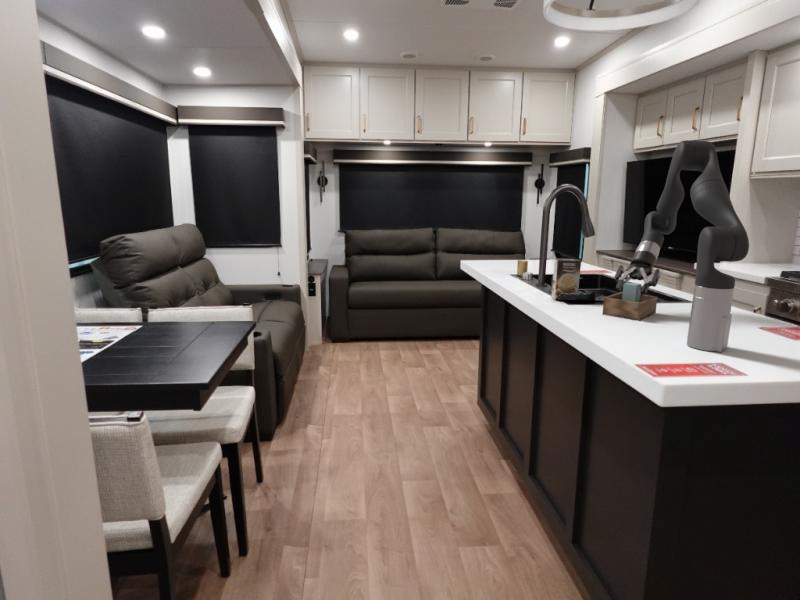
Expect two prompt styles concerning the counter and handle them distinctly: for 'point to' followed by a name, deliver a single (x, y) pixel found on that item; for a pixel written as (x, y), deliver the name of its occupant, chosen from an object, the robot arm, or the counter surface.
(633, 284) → the block
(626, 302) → the crate
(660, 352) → the counter surface
